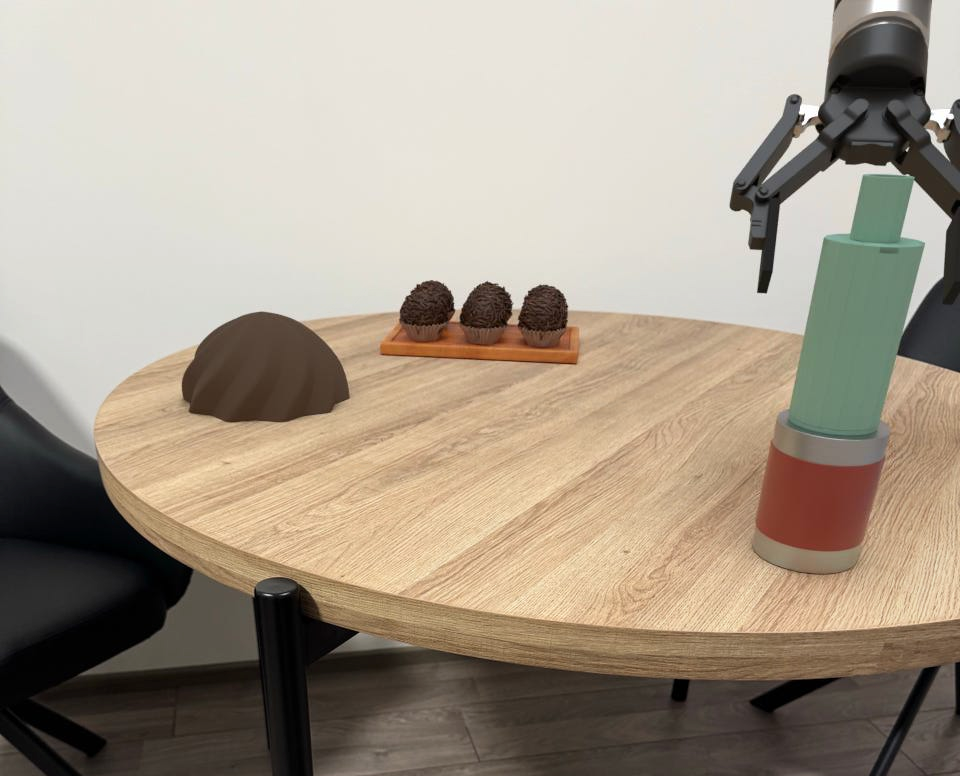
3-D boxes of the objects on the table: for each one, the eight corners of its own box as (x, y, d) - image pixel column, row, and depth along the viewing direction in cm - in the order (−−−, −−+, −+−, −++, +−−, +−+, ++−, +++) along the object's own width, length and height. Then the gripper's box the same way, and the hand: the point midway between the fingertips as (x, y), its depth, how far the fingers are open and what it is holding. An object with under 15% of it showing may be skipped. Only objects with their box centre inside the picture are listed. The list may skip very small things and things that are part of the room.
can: (840, 532, 79) (871, 408, 73) (872, 577, 72) (909, 442, 66) (741, 528, 79) (764, 404, 74) (763, 572, 72) (790, 438, 66)
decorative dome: (328, 371, 121) (323, 292, 116) (364, 414, 105) (360, 325, 100) (178, 381, 115) (165, 299, 110) (191, 429, 99) (177, 335, 94)
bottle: (862, 411, 73) (920, 173, 64) (890, 437, 67) (957, 181, 58) (779, 408, 73) (825, 171, 64) (800, 434, 67) (854, 178, 58)
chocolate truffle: (578, 337, 141) (582, 280, 137) (577, 364, 127) (581, 301, 122) (401, 329, 143) (399, 272, 139) (380, 354, 129) (378, 292, 125)
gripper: (1023, 102, 75) (1014, 328, 70) (714, 94, 79) (685, 306, 74) (1067, 19, 67) (1060, 265, 63) (724, 15, 72) (693, 245, 67)
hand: (857, 288), depth 68 cm, fingers open, 13 cm apart
